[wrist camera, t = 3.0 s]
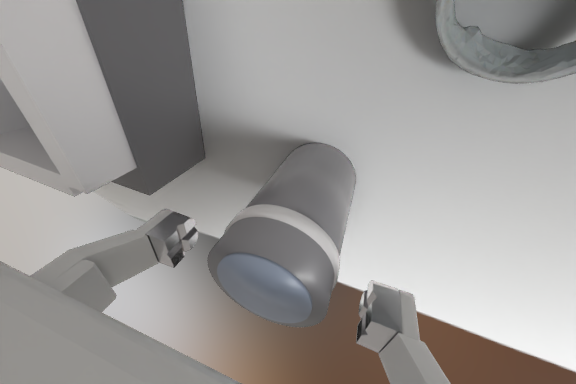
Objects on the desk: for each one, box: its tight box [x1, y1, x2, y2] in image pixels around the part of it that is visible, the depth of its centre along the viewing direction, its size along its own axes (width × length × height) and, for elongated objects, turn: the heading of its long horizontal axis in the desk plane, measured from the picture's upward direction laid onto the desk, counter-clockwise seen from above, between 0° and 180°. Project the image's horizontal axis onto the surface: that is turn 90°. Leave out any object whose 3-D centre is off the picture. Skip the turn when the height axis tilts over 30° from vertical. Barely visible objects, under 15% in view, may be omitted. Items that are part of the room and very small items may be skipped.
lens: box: [208, 143, 356, 327], centre depth 11 cm, size 5×5×8 cm
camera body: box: [0, 0, 205, 197], centre depth 11 cm, size 9×11×8 cm
